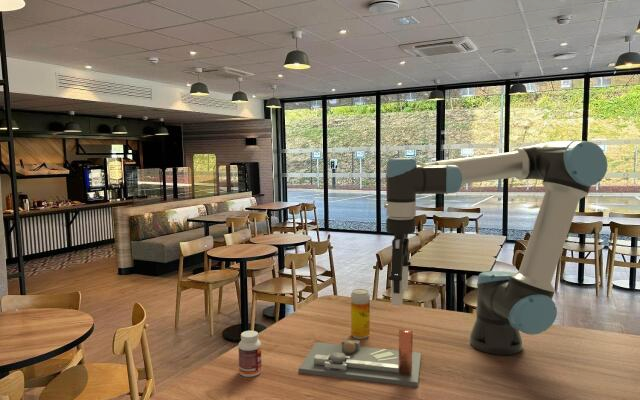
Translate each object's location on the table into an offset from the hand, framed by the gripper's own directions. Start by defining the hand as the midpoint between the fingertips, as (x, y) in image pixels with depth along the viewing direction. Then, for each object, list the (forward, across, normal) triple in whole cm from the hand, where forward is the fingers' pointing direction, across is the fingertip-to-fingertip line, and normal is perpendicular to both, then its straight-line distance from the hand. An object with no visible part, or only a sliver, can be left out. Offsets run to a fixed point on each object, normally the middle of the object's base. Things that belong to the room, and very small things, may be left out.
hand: (400, 296), depth 125 cm
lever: (+20, +1, -10) cm, 23 cm away
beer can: (+22, -23, -16) cm, 36 cm away
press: (+22, -4, -11) cm, 25 cm away
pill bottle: (+22, +9, -40) cm, 46 cm away
